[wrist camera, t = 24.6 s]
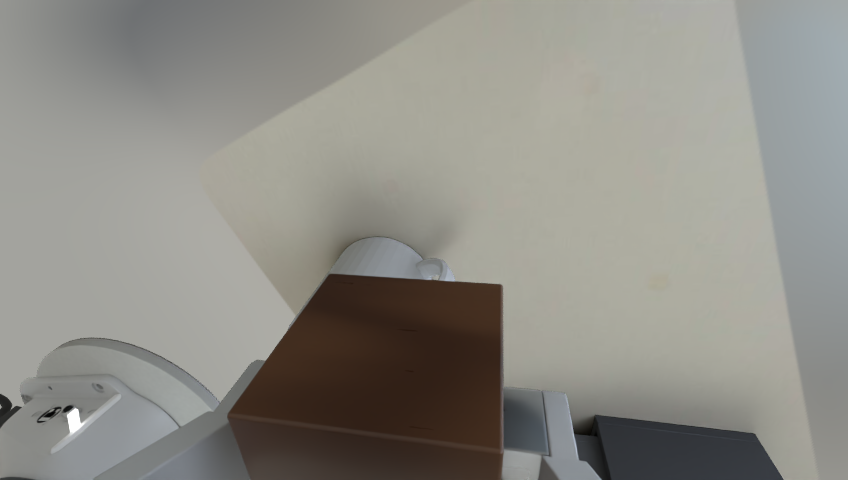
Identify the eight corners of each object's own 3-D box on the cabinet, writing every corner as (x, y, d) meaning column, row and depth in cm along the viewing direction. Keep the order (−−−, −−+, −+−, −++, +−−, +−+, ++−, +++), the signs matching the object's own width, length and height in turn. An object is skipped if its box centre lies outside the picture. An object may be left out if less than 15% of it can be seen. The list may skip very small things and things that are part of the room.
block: (349, 394, 12) (278, 560, 9) (328, 272, 10) (224, 415, 7) (494, 412, 12) (491, 602, 8) (503, 283, 10) (504, 453, 6)
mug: (337, 310, 38) (289, 392, 30) (335, 221, 34) (278, 287, 25) (449, 331, 37) (432, 422, 28) (462, 241, 33) (447, 317, 24)
